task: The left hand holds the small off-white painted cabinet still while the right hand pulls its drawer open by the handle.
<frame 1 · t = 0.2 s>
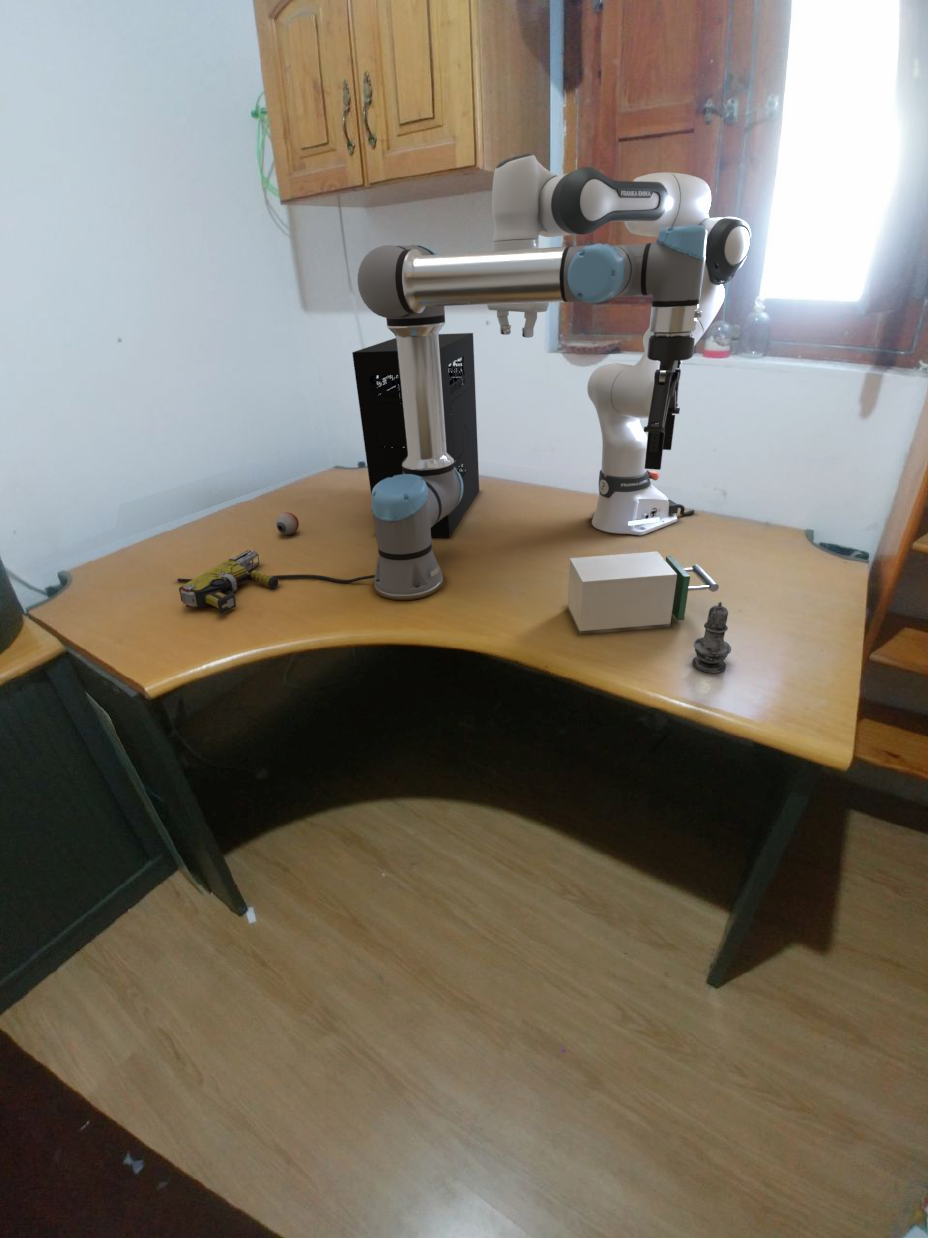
left hand: (658, 458, 113), 28 cm above the table, tool pointing down, fingers open, 13 cm apart
right hand: (516, 335, 125), 48 cm above the table, tool pointing down, fingers open, 8 cm apart
eyeball: (289, 534, 165), on the table
black box: (431, 512, 175), on the table
dark grey chess piece: (708, 664, 102), on the table
cabinet: (616, 617, 118), on the table
toy gun: (243, 589, 137), on the table
drawer: (651, 589, 115), point 6 cm above the table, slide at 1.6 cm
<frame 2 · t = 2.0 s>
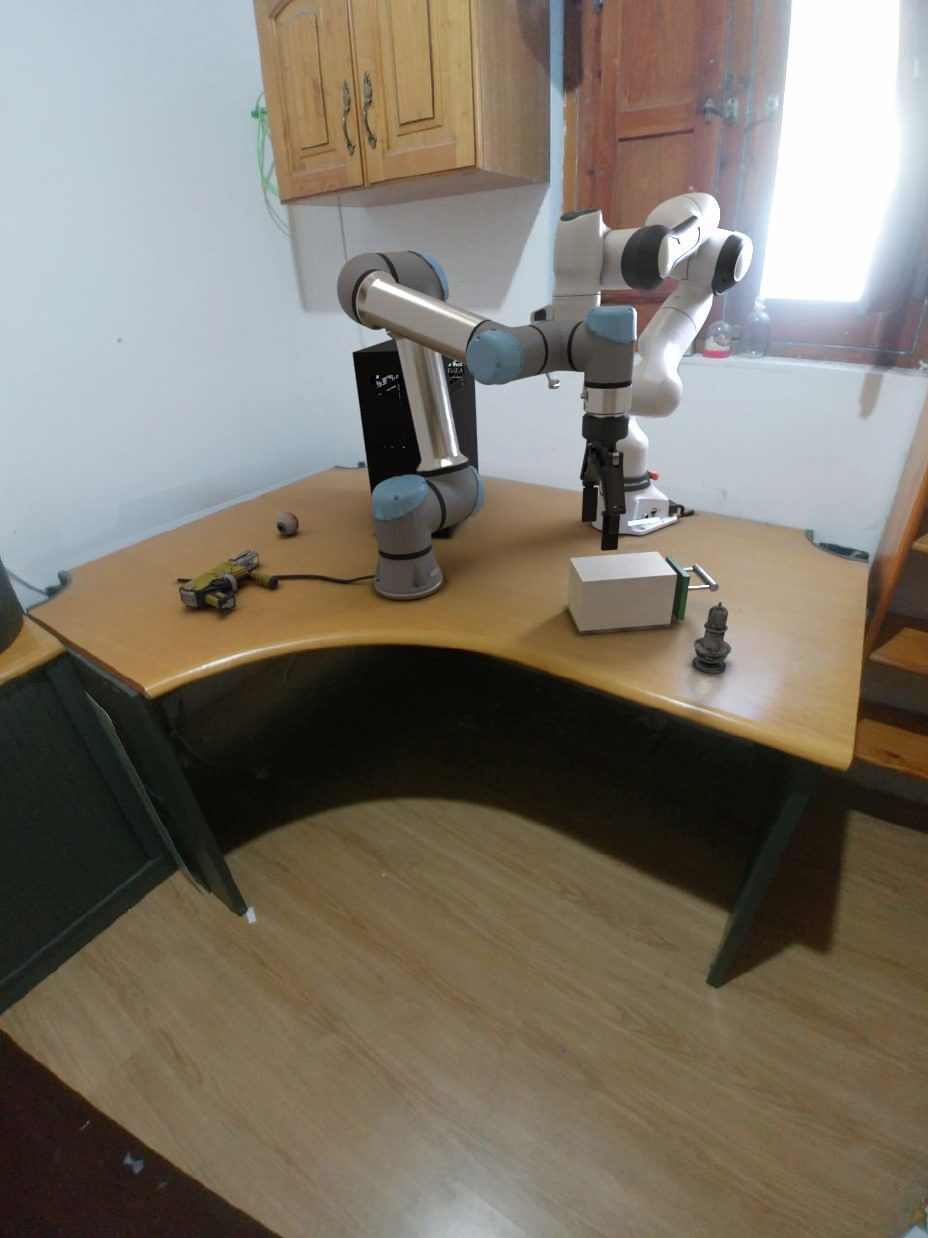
left hand: (598, 534, 109), 18 cm above the table, tool pointing down, fingers open, 13 cm apart
right hand: (572, 390, 119), 38 cm above the table, tool pointing down, fingers open, 8 cm apart
nothing on the table moved.
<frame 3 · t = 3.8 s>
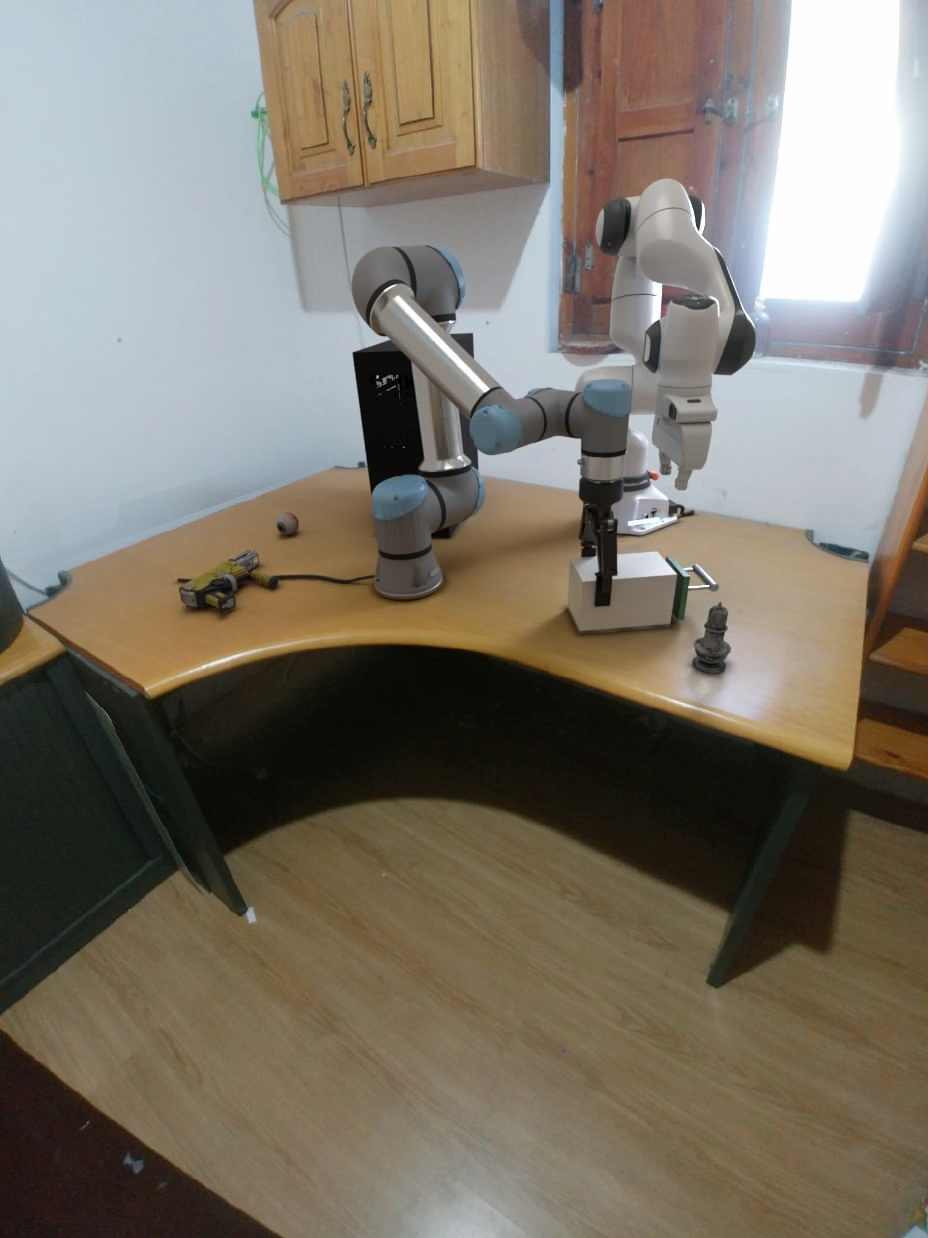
left hand: (594, 591, 114), 6 cm above the table, tool pointing down, fingers closed on cabinet, 10 cm apart
right hand: (672, 481, 110), 25 cm above the table, tool pointing down, fingers open, 8 cm apart
cabinet: (616, 617, 118), on the table, touching left hand
everything else where it was.
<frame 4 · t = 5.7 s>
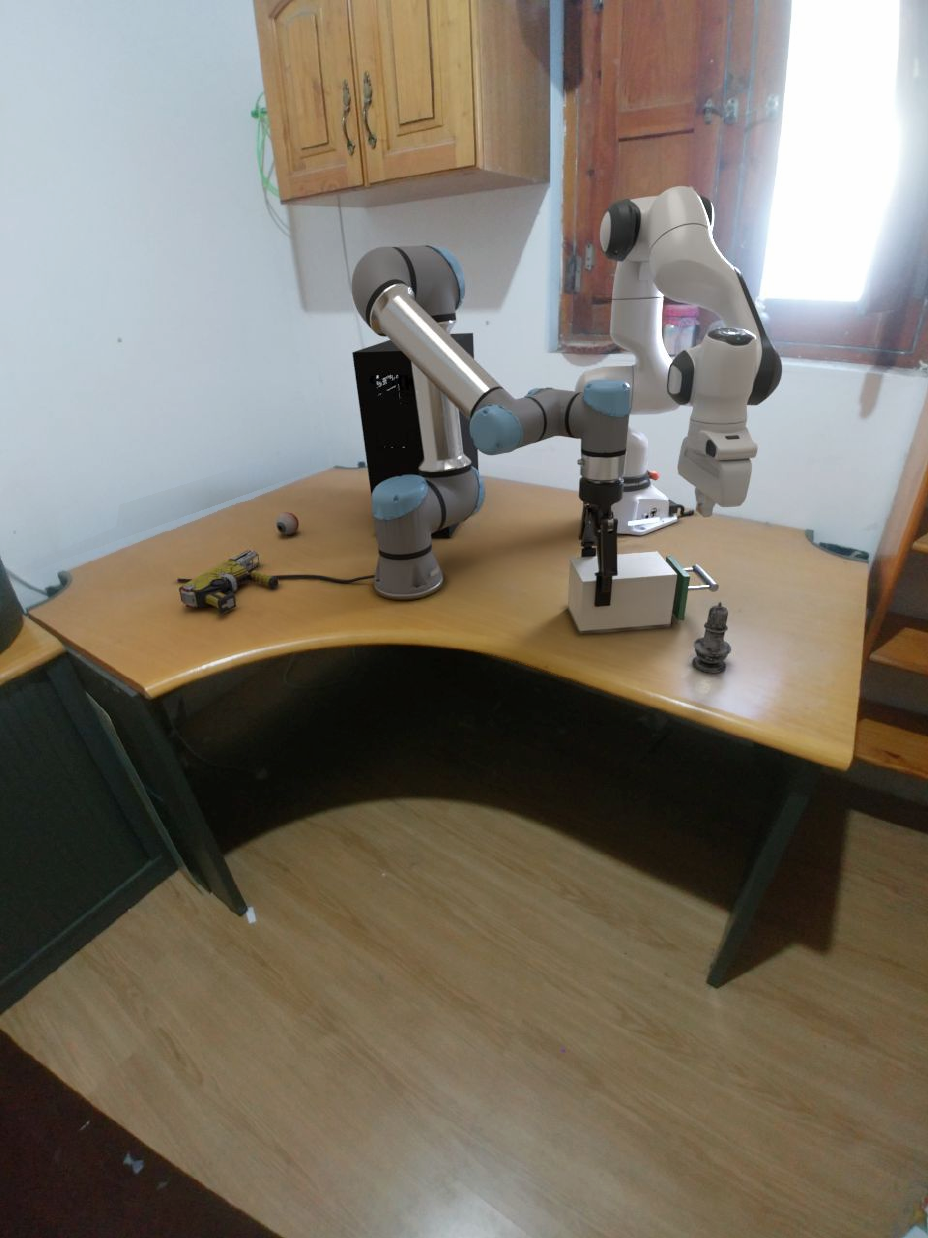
left hand: (594, 591, 114), 6 cm above the table, tool pointing down, fingers closed on cabinet, 10 cm apart
right hand: (703, 514, 108), 20 cm above the table, tool pointing down, fingers closed
cabinet: (616, 617, 118), on the table, touching left hand
everything else where it was.
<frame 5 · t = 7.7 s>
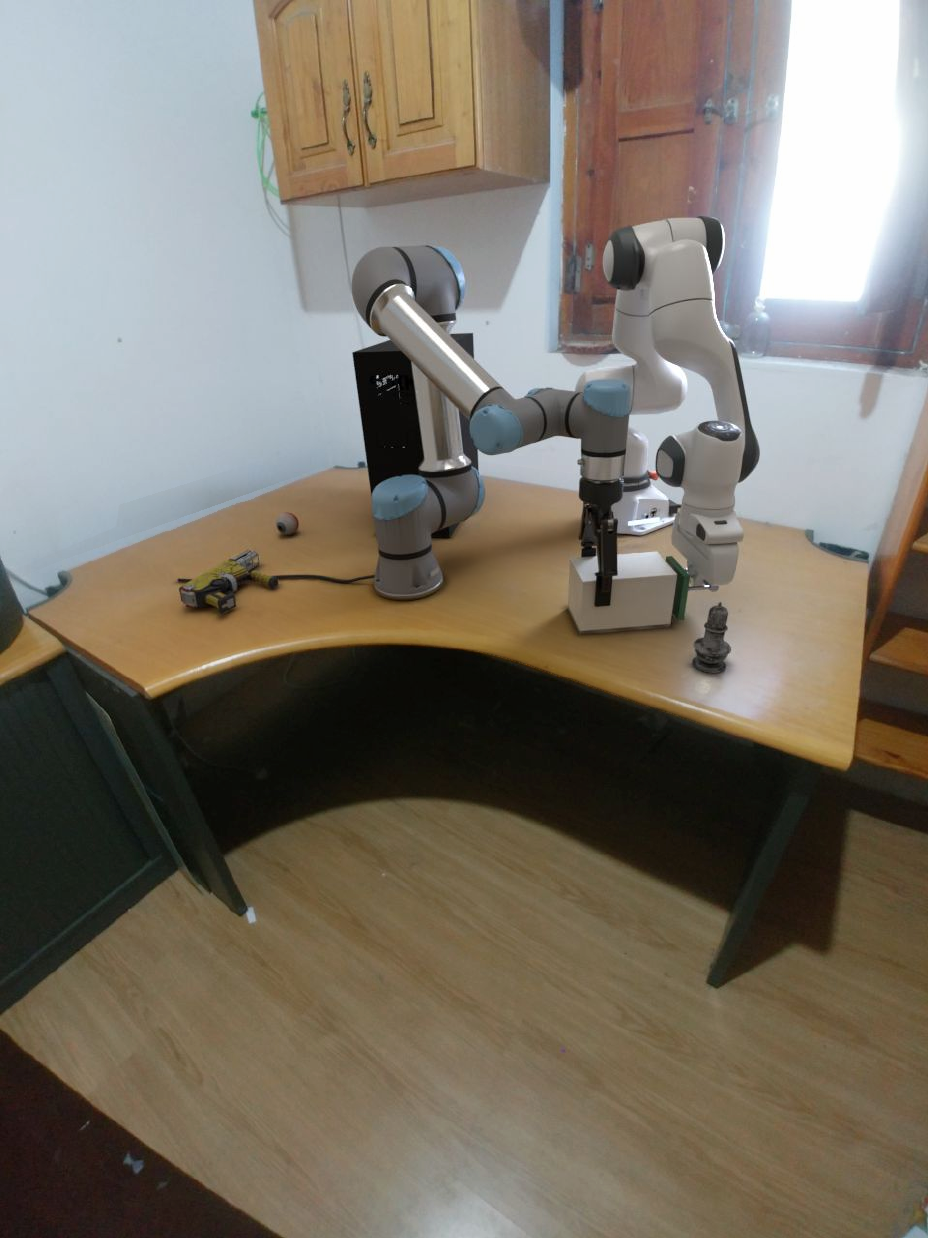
left hand: (594, 591, 114), 6 cm above the table, tool pointing down, fingers closed on cabinet, 10 cm apart
right hand: (694, 585, 115), 6 cm above the table, tool pointing down, fingers closed, pressing on drawer
cabinet: (616, 617, 118), on the table, touching left hand
drawer: (651, 589, 115), point 6 cm above the table, slide at 1.6 cm, touching right hand
everything else where it was.
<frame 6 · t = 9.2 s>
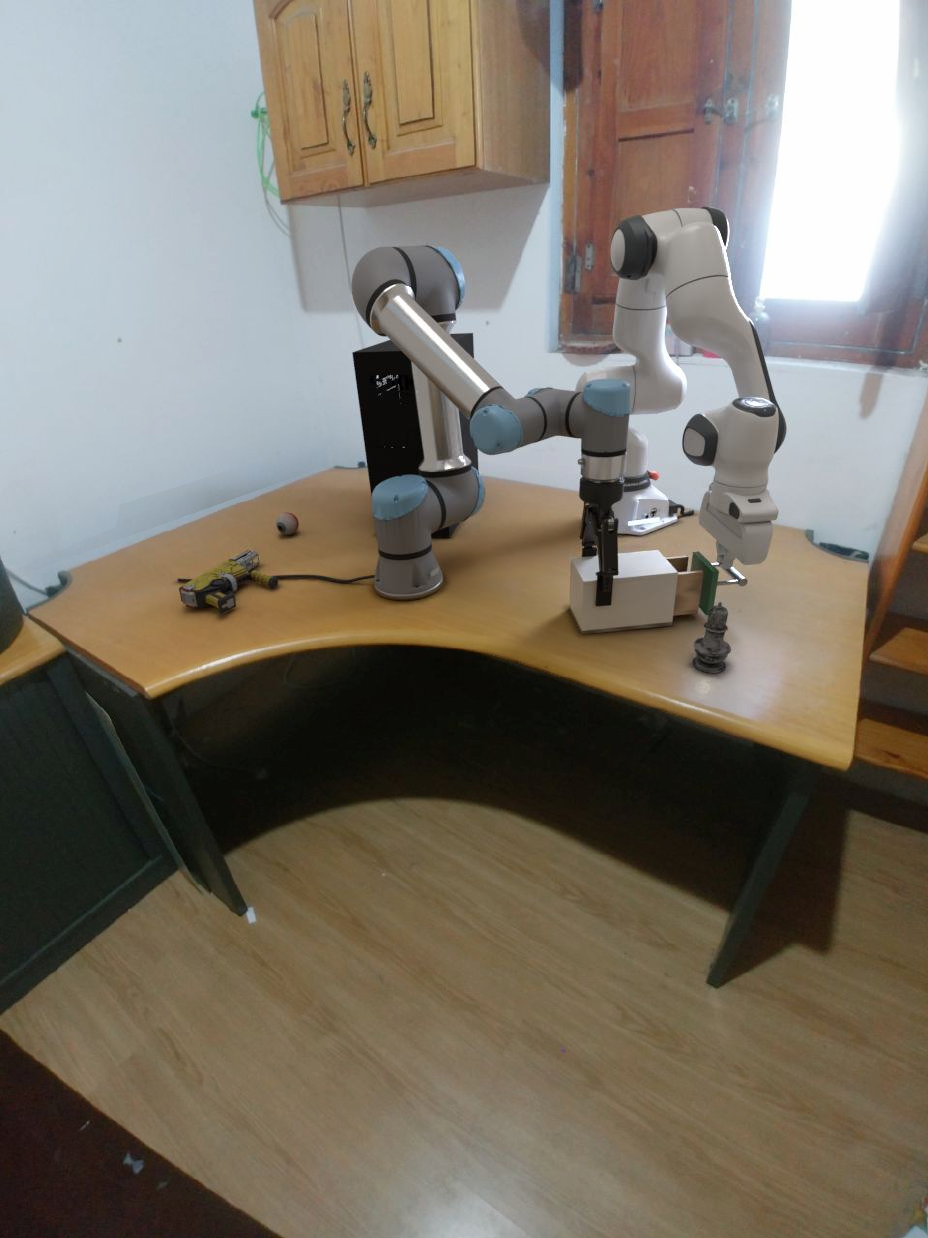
left hand: (595, 591, 114), 6 cm above the table, tool pointing down, fingers closed on cabinet, 10 cm apart
right hand: (723, 565, 114), 9 cm above the table, tool pointing down, fingers closed
cabinet: (618, 616, 118), on the table, touching left hand
drawer: (679, 585, 115), point 6 cm above the table, slide at 6.7 cm
everything else where it was.
when the left hand's fingers open (6 cm above the table, at t = 10.5 s): cabinet stays where it is, on the table.
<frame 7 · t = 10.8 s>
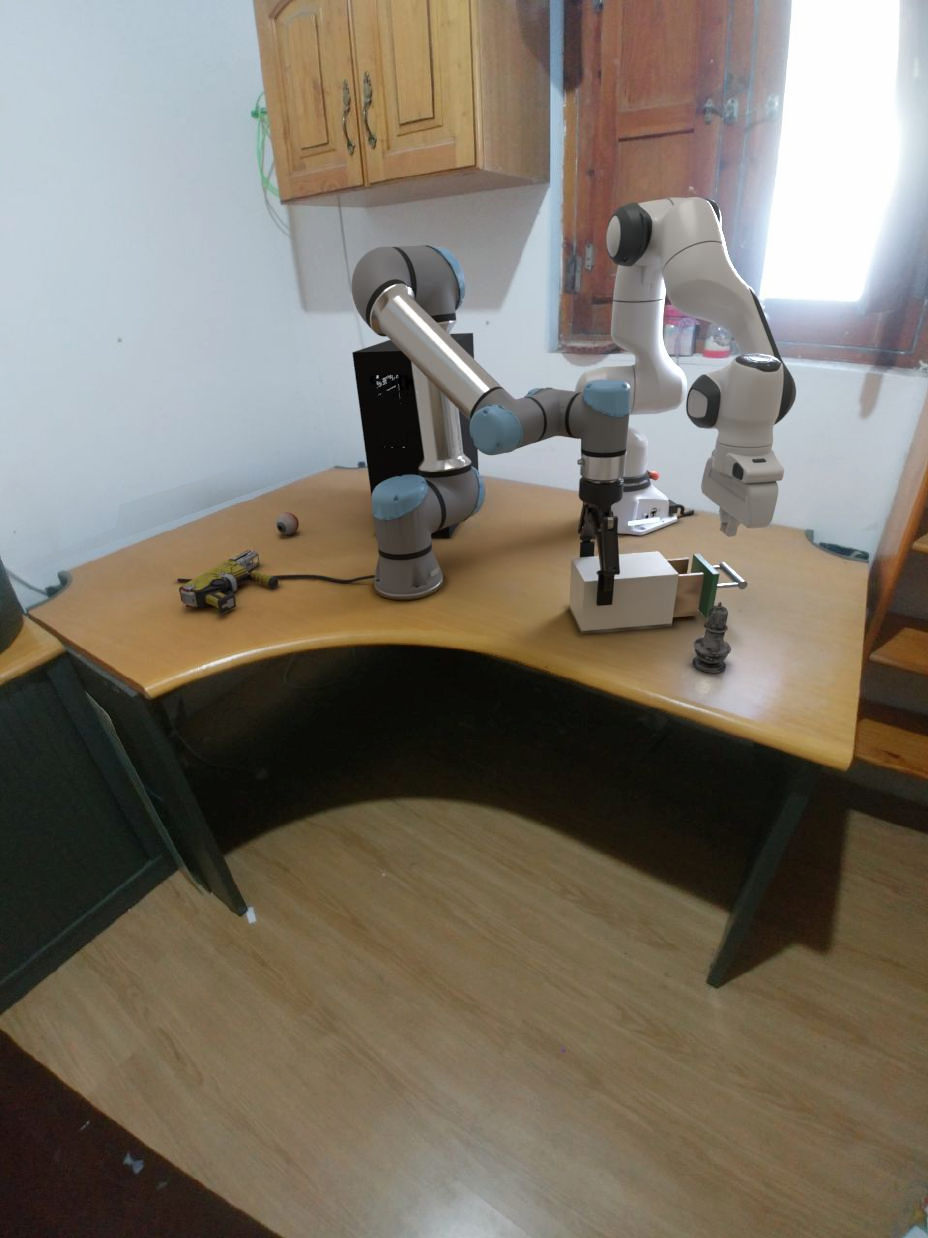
left hand: (594, 587, 114), 7 cm above the table, tool pointing down, fingers open, 13 cm apart
right hand: (727, 533, 110), 16 cm above the table, tool pointing down, fingers closed
cabinet: (618, 617, 118), on the table
everything else where it was.
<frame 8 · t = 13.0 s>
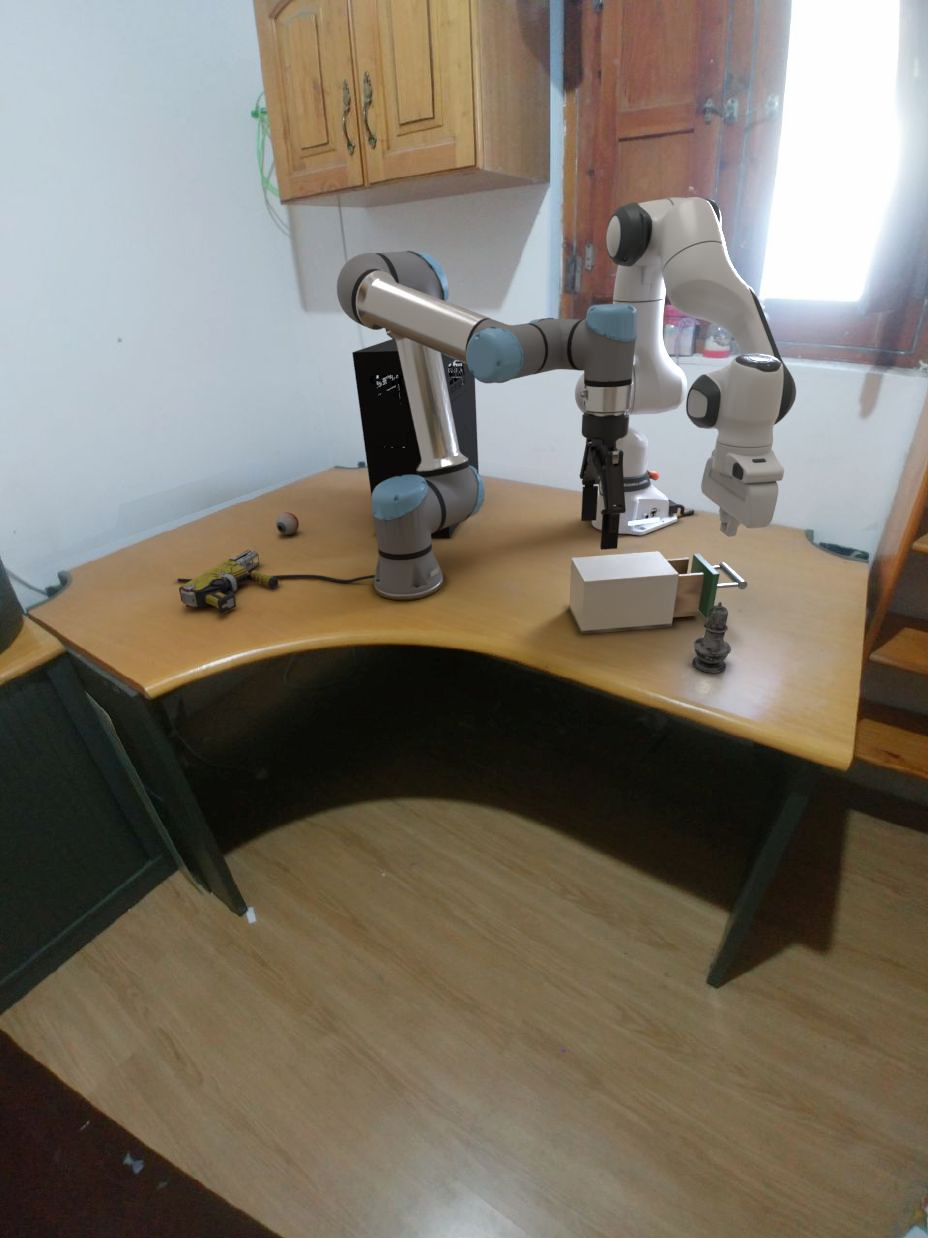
left hand: (598, 533, 109), 18 cm above the table, tool pointing down, fingers open, 13 cm apart
right hand: (727, 533, 110), 16 cm above the table, tool pointing down, fingers closed
nothing on the table moved.
at the end: drawer slide at 6.7 cm; cabinet tilted 0°; cabinet never tilted more than 2° during the clip; cabinet moved 0.3 cm from its start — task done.
